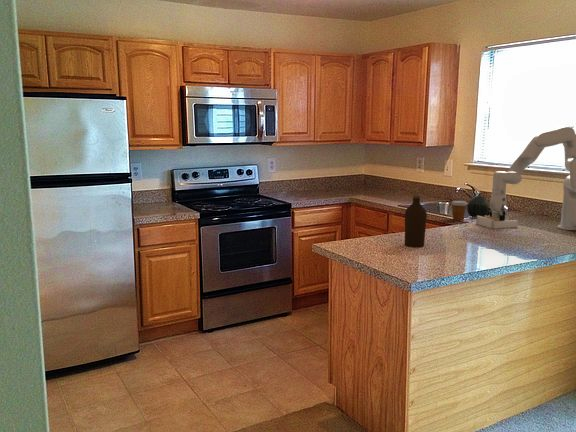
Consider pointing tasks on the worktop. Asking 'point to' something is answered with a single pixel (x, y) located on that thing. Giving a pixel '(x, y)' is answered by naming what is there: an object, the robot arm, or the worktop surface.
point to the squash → (478, 207)
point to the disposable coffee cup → (458, 210)
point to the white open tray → (495, 223)
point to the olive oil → (415, 223)
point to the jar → (496, 214)
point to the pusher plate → (492, 218)
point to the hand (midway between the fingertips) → (496, 220)
